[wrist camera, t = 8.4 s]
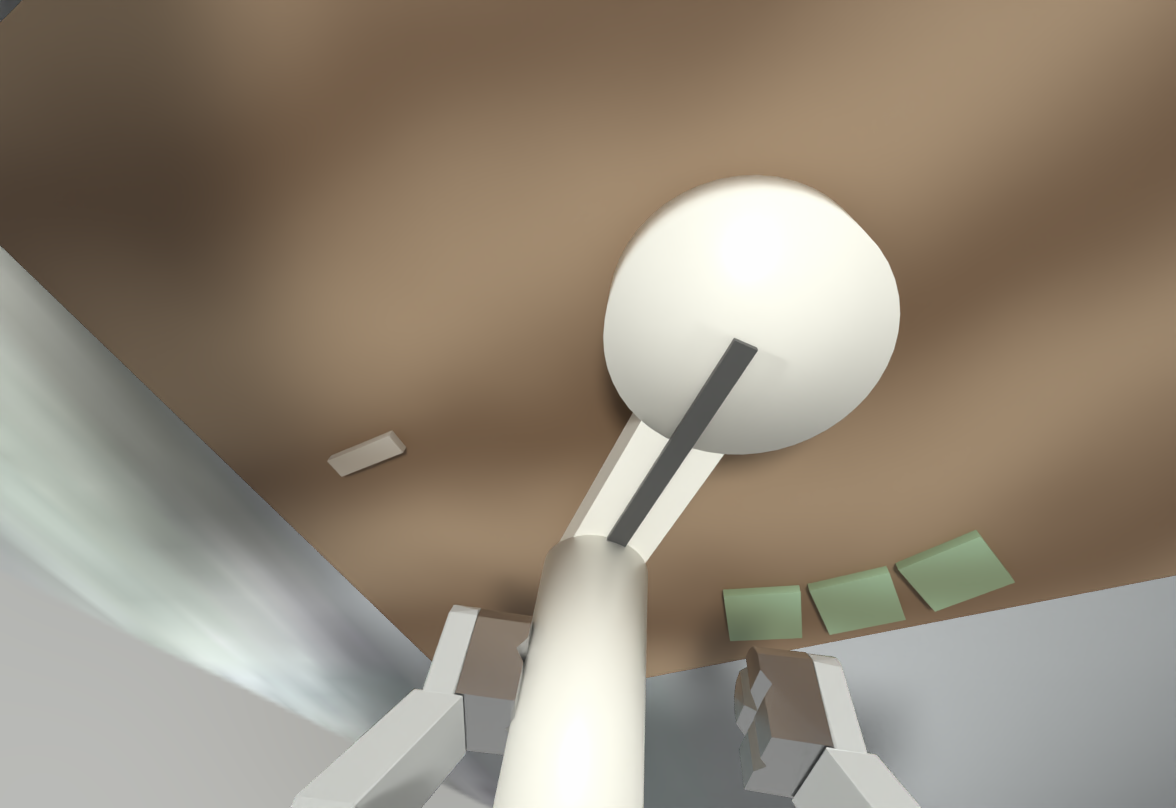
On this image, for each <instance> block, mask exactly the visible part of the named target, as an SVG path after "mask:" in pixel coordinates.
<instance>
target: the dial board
mask: <svg viewBox="0 0 1176 808" xmlns="http://www.w3.org/2000/svg"><path fill="white" fill-rule="evenodd" d="M743 175H765V176H777V177H781V178H785V179H790V180H794V181H797V182H800V183H802V184H805V185H807V186H810V187H812V188H814V189H816V190H818V191H819V192H821V193H823V194H825V195H826V196H828V197H829V198H831V199H832V200H833V201H834V202H836V203H837V204H838V205H839V206H841V207H842V208H843V209H844V210H845V211H846V212H847V213H848V214H849V215H850V216H851V218H852V219H853V220H854V221H855V222H856V223H857V224H858V225H859V226H860V227H861V228H862V229H863V230H864V231H865V232H866V233H867V234H868V236H869V237H870V238H871V239H872V240H873V241H874V242H875V243H876V245H877V246H878V247H879V248H880V250H881V252H882V253H883V255H884V256H885V258H886V260H887V261H888V263H889V265H890V268H891V270H892V273H893V275H894V278H895V281H896V285H897V290H898V294H899V303H900V321H899V331H898V336H897V340H896V344H895V348H894V351H893V353H892V356H891V358H890V360H889V363H888V365H887V367H886V369H885V371H884V372H883V374H882V376H881V378H880V379H879V381H878V382H877V384H876V385H875V386H874V388H873V389H872V390H871V392H870V393H869V394H868V396H867V397H866V398H865V399H864V400H863V401H862V402H861V403H860V404H859V405H858V406H857V407H856V408H855V409H854V410H853V411H852V412H850V413H849V414H848V415H847V416H846V417H844V418H843V419H842V420H841V421H839V422H838V423H836V424H835V425H833V426H832V427H830V428H829V429H827V430H825V431H824V432H822V433H820V434H818V435H816V436H814V437H812V438H810V439H808V440H805V441H803V442H800V443H798V444H795V445H792V446H789V447H785V448H782V449H779V450H774V451H769V452H763V453H755V454H744V455H741V454H724V455H723V457H722V458H721V459H720V461H719V462H718V464H717V465H716V466H715V468H714V469H713V470H712V472H711V473H710V475H709V476H708V477H707V479H706V480H705V482H704V483H703V484H702V486H701V487H700V488H699V490H698V491H697V493H696V494H695V495H694V497H693V498H692V499H691V501H690V502H689V504H688V505H687V506H686V508H685V509H684V511H683V512H682V513H681V515H680V516H679V517H678V519H677V520H676V522H675V523H674V524H673V526H672V527H671V528H670V530H669V531H668V533H667V534H666V535H665V537H664V538H663V539H662V541H661V542H660V544H659V545H658V546H657V548H656V549H655V551H654V552H653V553H652V555H651V556H650V557H649V559H648V560H647V562H646V563H645V564H646V566H647V570H648V595H647V648H646V678H648V677H654V676H659V675H664V674H669V673H674V672H679V671H685V670H690V669H695V668H700V667H705V666H710V665H716V664H721V663H726V662H731V661H736V660H741V659H746V655H747V653H748V651H749V649H750V648H751V647H753V646H756V647H765V648H773V649H781V650H793V649H798V648H803V647H808V646H814V645H819V644H824V643H829V642H834V641H839V640H845V639H850V638H855V637H860V636H865V635H870V634H876V633H881V632H886V631H891V630H896V629H901V628H907V627H912V626H917V625H922V624H927V623H932V622H938V621H943V620H948V619H953V618H958V617H963V616H969V615H974V614H979V613H984V612H989V611H994V610H1000V609H1005V608H1010V607H1015V606H1020V605H1025V604H1031V603H1036V602H1041V601H1046V600H1051V599H1056V598H1061V597H1067V596H1072V595H1077V594H1082V593H1087V592H1092V591H1098V590H1103V589H1108V588H1113V587H1118V586H1123V585H1129V584H1134V583H1139V582H1144V581H1149V580H1154V579H1160V578H1165V577H1170V576H1175V575H1176V0H22V1H21V2H20V3H19V4H18V5H17V6H16V7H15V8H14V9H13V10H12V11H11V12H10V13H9V14H8V15H7V16H6V17H5V18H4V19H3V20H2V21H1V22H0V246H1V247H2V248H4V249H5V250H6V251H7V252H8V253H9V254H10V255H11V256H12V257H13V258H14V259H15V260H16V261H17V262H18V263H19V264H20V265H21V266H22V267H23V268H24V269H25V270H26V271H27V272H28V273H29V274H30V275H32V276H33V277H34V278H35V279H36V280H37V281H38V282H39V283H40V284H41V285H42V286H43V287H44V288H45V289H46V290H47V291H48V292H49V293H50V294H51V295H52V296H53V297H54V298H55V299H56V300H57V301H58V302H60V303H61V304H62V305H63V306H64V307H65V308H66V309H67V310H68V311H69V312H70V313H71V314H72V315H73V316H74V317H75V318H76V319H77V320H78V321H79V322H80V323H81V324H82V325H83V326H84V327H85V328H87V329H88V330H89V331H90V332H91V333H92V334H93V335H94V336H95V337H96V338H97V339H98V340H99V341H100V342H101V343H102V344H103V345H104V346H105V347H106V348H107V349H108V350H109V351H110V352H111V353H112V354H113V355H115V356H116V357H117V358H118V359H119V360H120V361H121V362H122V363H123V364H124V365H125V366H126V367H127V368H128V369H129V370H130V371H131V372H132V373H133V374H134V375H135V376H136V377H137V378H138V379H139V380H140V381H141V382H143V383H144V384H145V385H146V386H147V387H148V388H149V389H150V390H151V391H152V392H153V393H154V394H155V395H156V396H157V397H158V398H159V399H160V400H161V401H162V402H163V403H164V404H165V405H166V406H167V407H168V408H169V409H171V410H172V411H173V412H174V413H175V414H176V415H177V416H178V417H179V418H180V419H181V420H182V421H183V422H184V423H185V424H186V425H187V426H188V427H189V428H190V429H191V430H192V431H193V432H194V433H195V434H196V435H197V436H199V437H200V438H201V439H202V440H203V441H204V442H205V443H206V444H207V445H208V446H209V447H210V448H211V449H212V450H213V451H214V452H215V453H216V454H217V455H218V456H219V457H220V458H221V459H222V460H223V461H224V462H225V463H227V464H228V465H229V466H230V467H231V468H232V469H233V470H234V471H235V472H236V473H237V474H238V475H239V476H240V477H241V478H242V479H243V480H244V481H245V482H246V483H247V484H248V485H249V486H250V487H251V488H252V489H253V490H255V491H256V492H257V493H258V494H259V495H260V496H261V497H262V498H263V499H264V500H265V501H266V502H267V503H268V504H269V505H270V506H271V507H272V508H273V509H274V510H275V511H276V512H277V513H278V514H279V515H280V516H281V517H283V518H284V519H285V520H286V521H287V522H288V523H289V524H290V525H291V526H292V527H293V528H294V529H295V530H296V531H297V532H298V533H299V534H300V535H301V536H302V537H303V538H304V539H305V540H306V541H307V542H308V543H309V544H311V545H312V546H313V547H314V548H315V549H316V550H317V551H318V552H319V553H320V554H321V555H322V556H323V557H324V558H325V559H326V560H327V561H328V562H329V563H330V564H331V565H332V566H333V567H334V568H335V569H336V570H337V571H339V572H340V573H341V574H342V575H343V576H344V577H345V578H346V579H347V580H348V581H349V582H350V583H351V584H352V585H353V586H354V587H355V588H356V589H357V590H358V591H359V592H360V593H361V594H362V595H363V596H364V597H365V598H367V599H368V600H369V601H370V602H371V603H372V604H373V605H374V606H375V607H376V608H377V609H378V610H379V611H380V612H381V613H382V614H383V615H384V616H385V617H386V618H387V619H388V620H389V621H390V622H391V623H392V624H393V625H395V626H396V627H397V628H398V629H399V630H400V631H401V632H402V633H403V634H404V635H405V636H406V637H407V638H408V639H409V640H410V641H411V642H412V643H413V644H414V645H415V646H416V647H417V648H418V649H419V650H420V651H421V652H423V653H424V654H425V655H426V656H427V657H428V658H429V659H430V660H431V661H432V660H433V657H434V654H435V651H436V648H437V646H438V643H439V640H440V637H441V634H442V631H443V628H444V625H445V622H446V620H447V617H448V614H449V612H450V610H451V609H452V607H453V605H461V606H468V607H476V608H481V609H487V610H494V611H500V612H507V613H514V614H520V615H527V616H533V613H534V608H535V604H536V599H537V594H538V589H539V585H540V580H541V575H542V570H543V565H544V561H545V558H546V555H547V554H548V552H549V551H550V550H551V549H552V548H553V547H554V546H555V545H556V544H558V543H559V541H560V540H561V538H562V536H563V534H564V533H565V531H566V529H567V527H568V526H569V524H570V522H571V520H572V519H573V517H574V515H575V513H576V512H577V510H578V508H579V506H580V505H581V503H582V501H583V499H584V498H585V496H586V494H587V492H588V490H589V489H590V487H591V485H592V483H593V482H594V480H595V478H596V476H597V475H598V473H599V471H600V469H601V468H602V466H603V464H604V462H605V461H606V459H607V457H608V455H609V454H610V452H611V450H612V448H613V447H614V445H615V443H616V441H617V440H618V438H619V436H620V434H621V433H622V431H623V429H624V427H625V426H626V424H627V422H628V420H629V418H630V417H631V415H632V413H633V412H632V411H631V410H630V409H629V408H628V406H627V405H626V404H625V402H624V401H623V399H622V398H621V397H620V395H619V393H618V391H617V389H616V388H615V386H614V384H613V382H612V379H611V376H610V374H609V371H608V368H607V364H606V359H605V354H604V341H603V333H604V321H605V315H606V309H607V304H608V298H609V292H610V287H611V283H612V279H613V274H614V272H615V269H616V266H617V264H618V261H619V259H620V257H621V255H622V253H623V251H624V249H625V247H626V246H627V244H628V242H629V241H630V240H631V238H632V237H633V235H634V234H635V233H636V231H637V230H638V229H639V228H640V227H641V225H642V224H643V223H644V222H645V221H646V220H647V219H648V218H649V217H650V216H651V215H652V214H653V213H655V212H656V211H657V210H658V209H660V208H661V207H662V206H663V205H664V204H666V203H667V202H669V201H671V200H672V199H674V198H675V197H677V196H679V195H680V194H682V193H684V192H686V191H688V190H690V189H692V188H695V187H697V186H699V185H702V184H705V183H708V182H711V181H714V180H718V179H723V178H728V177H734V176H743Z"/></svg>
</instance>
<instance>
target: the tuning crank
mask: <svg viewBox="0 0 1176 808" xmlns="http://www.w3.org/2000/svg"><path fill="white" fill-rule="evenodd" d="M899 321H900V303H899V294H898V290H897V285H896V281H895V278H894V275H893V273H892V270H891V268H890V265H889V263H888V261H887V260H886V258H885V256H884V255H883V253H882V252H881V250H880V248H879V247H878V246H877V245H876V243H875V242H874V241H873V240H872V239H871V238H870V237H869V236H868V234H867V233H866V232H865V231H864V230H863V229H862V228H861V227H860V226H859V225H858V224H857V223H856V222H855V221H854V220H853V219H852V218H851V216H850V215H849V214H848V213H847V212H846V211H845V210H844V209H843V208H842V207H841V206H839V205H838V204H837V203H836V202H834V201H833V200H832V199H831V198H829V197H828V196H826V195H825V194H823V193H821V192H819V191H818V190H816V189H814V188H812V187H810V186H807V185H805V184H802V183H800V182H797V181H794V180H790V179H785V178H781V177H777V176H765V175H743V176H734V177H728V178H723V179H718V180H714V181H711V182H708V183H705V184H702V185H699V186H697V187H695V188H692V189H690V190H688V191H686V192H684V193H682V194H680V195H679V196H677V197H675V198H674V199H672V200H671V201H669V202H667V203H666V204H664V205H663V206H662V207H661V208H660V209H658V210H657V211H656V212H655V213H653V214H652V215H651V216H650V217H649V218H648V219H647V220H646V221H645V222H644V223H643V224H642V225H641V227H640V228H639V229H638V230H637V231H636V233H635V234H634V235H633V237H632V238H631V240H630V241H629V242H628V244H627V246H626V247H625V249H624V251H623V253H622V255H621V257H620V259H619V261H618V264H617V266H616V269H615V272H614V274H613V279H612V283H611V287H610V292H609V298H608V304H607V309H606V315H605V321H604V333H603V341H604V354H605V359H606V364H607V368H608V371H609V374H610V376H611V379H612V382H613V384H614V386H615V388H616V389H617V391H618V393H619V395H620V397H621V398H622V399H623V401H624V402H625V404H626V405H627V406H628V408H629V409H630V410H631V411H632V412H633V413H632V415H631V417H630V418H629V420H628V422H627V424H626V426H625V427H624V429H623V431H622V433H621V434H620V436H619V438H618V440H617V441H616V443H615V445H614V447H613V448H612V450H611V452H610V454H609V455H608V457H607V459H606V461H605V462H604V464H603V466H602V468H601V469H600V471H599V473H598V475H597V476H596V478H595V480H594V482H593V483H592V485H591V487H590V489H589V490H588V492H587V494H586V496H585V498H584V499H583V501H582V503H581V505H580V506H579V508H578V510H577V512H576V513H575V515H574V517H573V519H572V520H571V522H570V524H569V526H568V527H567V529H566V531H565V533H564V534H563V536H562V538H561V540H560V541H559V543H558V544H556V545H555V546H554V547H553V548H552V549H551V550H550V551H549V552H548V554H547V555H546V558H545V561H544V565H543V570H542V575H541V580H540V585H539V589H538V594H537V599H536V604H535V608H534V613H533V616H534V624H533V629H532V634H531V639H530V645H529V650H528V655H527V657H526V659H525V661H524V664H523V680H522V685H521V690H520V695H519V699H518V704H517V709H516V714H515V718H514V719H513V720H512V722H511V724H510V728H509V733H508V737H507V742H506V747H505V752H504V756H503V761H502V766H501V771H500V776H499V780H498V785H497V790H496V795H495V799H494V804H493V808H643V805H644V753H645V700H646V648H647V595H648V570H647V566H646V564H645V563H646V562H647V560H648V559H649V557H650V556H651V555H652V553H653V552H654V551H655V549H656V548H657V546H658V545H659V544H660V542H661V541H662V539H663V538H664V537H665V535H666V534H667V533H668V531H669V530H670V528H671V527H672V526H673V524H674V523H675V522H676V520H677V519H678V517H679V516H680V515H681V513H682V512H683V511H684V509H685V508H686V506H687V505H688V504H689V502H690V501H691V499H692V498H693V497H694V495H695V494H696V493H697V491H698V490H699V488H700V487H701V486H702V484H703V483H704V482H705V480H706V479H707V477H708V476H709V475H710V473H711V472H712V470H713V469H714V468H715V466H716V465H717V464H718V462H719V461H720V459H721V458H722V457H723V455H724V454H741V455H744V454H755V453H763V452H769V451H774V450H779V449H782V448H785V447H789V446H792V445H795V444H798V443H800V442H803V441H805V440H808V439H810V438H812V437H814V436H816V435H818V434H820V433H822V432H824V431H825V430H827V429H829V428H830V427H832V426H833V425H835V424H836V423H838V422H839V421H841V420H842V419H843V418H844V417H846V416H847V415H848V414H849V413H850V412H852V411H853V410H854V409H855V408H856V407H857V406H858V405H859V404H860V403H861V402H862V401H863V400H864V399H865V398H866V397H867V396H868V394H869V393H870V392H871V390H872V389H873V388H874V386H875V385H876V384H877V382H878V381H879V379H880V378H881V376H882V374H883V372H884V371H885V369H886V367H887V365H888V363H889V360H890V358H891V356H892V353H893V351H894V348H895V344H896V340H897V336H898V331H899Z"/></svg>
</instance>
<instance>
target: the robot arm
mask: <svg viewBox="0 0 1176 808" xmlns="http://www.w3.org/2000/svg"><path fill="white" fill-rule="evenodd" d="M533 624H534V616H527V615H520V614H514V613H507V612H500V611H494V610H487V609H481V608H476V607H468V606H461V605H453V607H452V609H451V610H450V612H449V614H448V617H447V620H446V622H445V625H444V628H443V631H442V634H441V637H440V640H439V643H438V646H437V648H436V651H435V654H434V657H433V660H432V663H431V666H430V669H429V672H428V674H427V677H426V680H425V683H424V686H423V689H413V690H412V691H411V692H410V693H409V694H408V695H407V696H405V697H404V698H403V699H402V700H401V701H400V702H399V703H398V704H397V705H396V706H394V707H393V708H392V709H391V710H390V711H389V712H388V713H387V714H386V715H385V716H383V717H382V718H381V719H380V720H379V721H378V722H377V723H376V724H375V725H374V726H372V727H371V728H370V729H369V730H368V731H367V732H366V733H365V734H364V735H362V736H361V737H360V738H359V739H358V740H357V741H356V742H355V743H354V744H353V745H351V746H350V747H349V748H348V749H347V750H346V751H345V752H344V753H343V754H342V755H340V756H339V757H338V758H337V759H336V760H335V761H334V762H333V763H332V764H331V765H329V766H328V767H327V768H326V769H325V770H324V771H323V772H322V773H321V774H320V775H318V776H317V777H316V778H315V779H314V780H313V781H312V782H311V783H310V784H309V785H307V786H306V787H305V788H304V789H303V790H302V791H301V792H300V793H299V794H297V795H296V797H295V799H294V801H293V803H292V805H291V808H422V806H423V805H424V804H425V803H426V802H427V801H428V799H429V798H430V797H431V796H432V794H433V793H434V792H435V791H436V790H437V788H438V787H439V786H440V785H441V784H442V782H443V781H444V780H445V779H446V778H447V776H448V775H449V774H450V773H451V772H452V770H453V769H454V768H455V767H456V765H457V764H458V763H459V762H460V761H461V759H462V758H463V757H464V756H465V755H466V751H474V752H482V753H491V754H499V755H504V752H505V747H506V742H507V737H508V733H509V728H510V724H511V722H512V720H513V719H514V718H515V714H516V709H517V704H518V699H519V695H520V690H521V685H522V680H523V664H524V661H525V659H526V657H527V655H528V650H529V645H530V639H531V634H532V629H533ZM746 662H747V667H746V668H744V669H742V670H741V671H740V672H739V675H738V678H737V680H736V686H735V694H734V709H735V719H736V724H737V726H738V727H739V728H740V730H741V731H742V733H743V734H744V735H745V737H744V740H743V742H742V744H741V746H740V748H739V754H740V762H741V770H742V778H743V786H744V790H749V791H755V792H761V793H766V794H772V795H778V796H784V797H789V798H793V800H792V802H793V803H794V805H795V807H796V808H921V807H920V805H919V804H918V803H917V802H916V801H915V799H914V798H913V797H912V796H911V795H910V794H909V792H908V791H907V790H906V789H905V788H904V787H903V785H902V784H901V783H900V782H899V781H898V779H897V778H896V777H895V776H894V775H893V774H892V772H891V771H890V770H889V769H888V768H887V767H886V765H885V764H884V763H883V762H882V761H881V759H880V758H879V757H878V756H877V755H876V754H871V753H867V749H866V746H865V742H864V739H863V736H862V732H861V729H860V726H859V722H858V719H857V716H856V712H855V709H854V706H853V702H852V699H851V695H850V692H849V689H848V685H847V682H846V679H845V675H844V672H843V669H842V665H841V663H840V662H839V661H838V659H837V658H835V657H832V656H823V655H815V654H807V653H806V652H798V651H790V650H781V649H773V648H765V647H756V646H753V647H751V648H750V649H749V651H748V653H747V655H746Z"/></svg>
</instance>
